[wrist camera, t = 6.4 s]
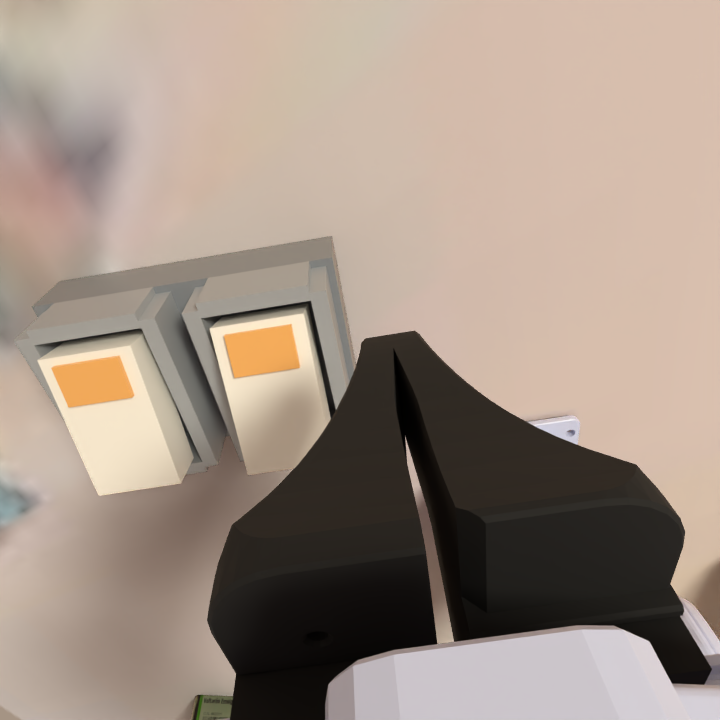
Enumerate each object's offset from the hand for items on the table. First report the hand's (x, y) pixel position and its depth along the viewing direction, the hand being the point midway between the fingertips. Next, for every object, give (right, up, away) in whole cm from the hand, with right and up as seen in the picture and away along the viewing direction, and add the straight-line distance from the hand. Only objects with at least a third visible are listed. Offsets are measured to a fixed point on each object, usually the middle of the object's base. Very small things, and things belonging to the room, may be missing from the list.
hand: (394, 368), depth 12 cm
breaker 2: (-4, -1, +7) cm, 8 cm away
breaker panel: (-7, +1, +11) cm, 13 cm away
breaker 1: (-10, -2, +7) cm, 13 cm away
